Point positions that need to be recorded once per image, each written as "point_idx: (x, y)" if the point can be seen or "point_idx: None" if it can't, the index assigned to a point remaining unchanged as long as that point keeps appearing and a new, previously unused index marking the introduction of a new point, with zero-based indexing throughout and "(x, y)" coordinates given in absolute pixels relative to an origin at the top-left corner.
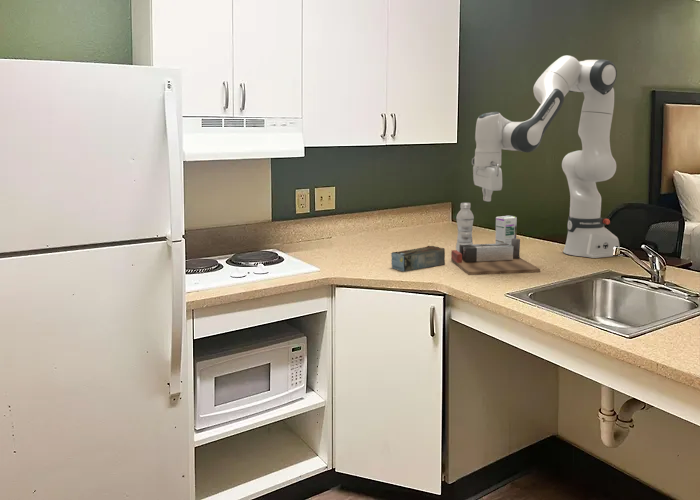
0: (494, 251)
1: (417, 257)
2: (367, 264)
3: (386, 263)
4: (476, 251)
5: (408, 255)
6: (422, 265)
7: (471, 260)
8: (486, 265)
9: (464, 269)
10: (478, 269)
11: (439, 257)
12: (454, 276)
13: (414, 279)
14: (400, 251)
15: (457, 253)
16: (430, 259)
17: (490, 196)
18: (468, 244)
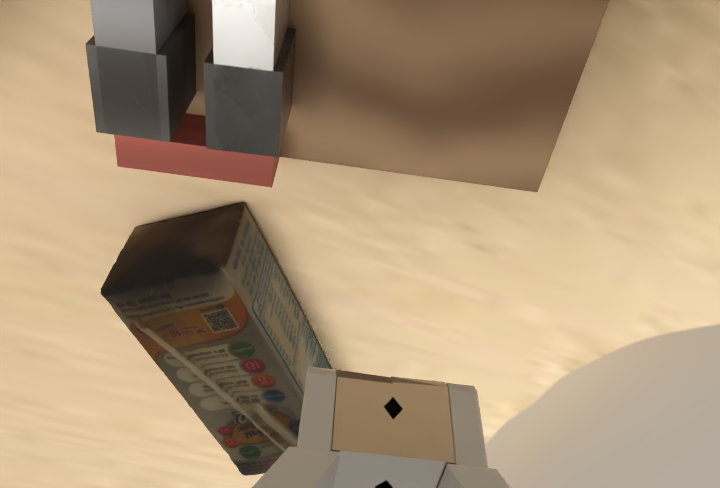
0: None
1: None
2: (172, 459)
3: (163, 406)
4: (287, 63)
5: None
6: (307, 334)
7: (292, 71)
8: (421, 6)
9: (450, 177)
10: (508, 113)
11: (257, 267)
12: (526, 254)
13: (492, 400)
14: (229, 447)
15: (237, 172)
16: (284, 315)
17: (484, 472)
18: (94, 61)
